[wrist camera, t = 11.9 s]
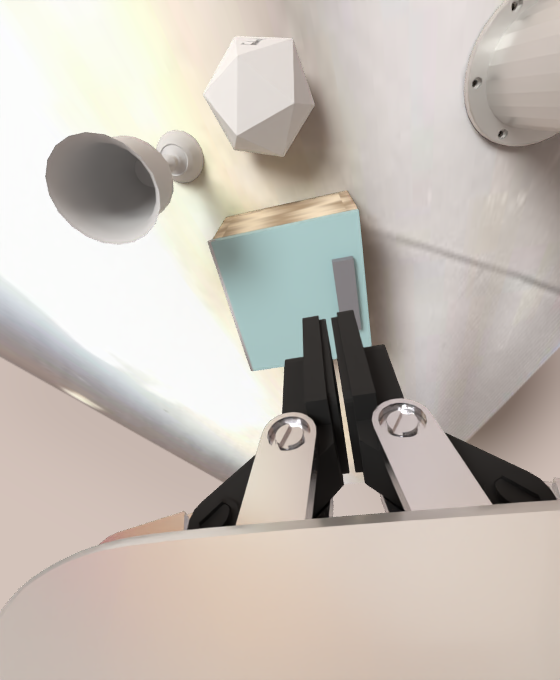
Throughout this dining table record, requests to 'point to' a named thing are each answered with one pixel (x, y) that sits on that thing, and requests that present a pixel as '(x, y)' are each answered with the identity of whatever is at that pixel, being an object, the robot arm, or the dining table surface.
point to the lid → (292, 283)
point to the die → (260, 94)
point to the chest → (286, 214)
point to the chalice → (118, 181)
